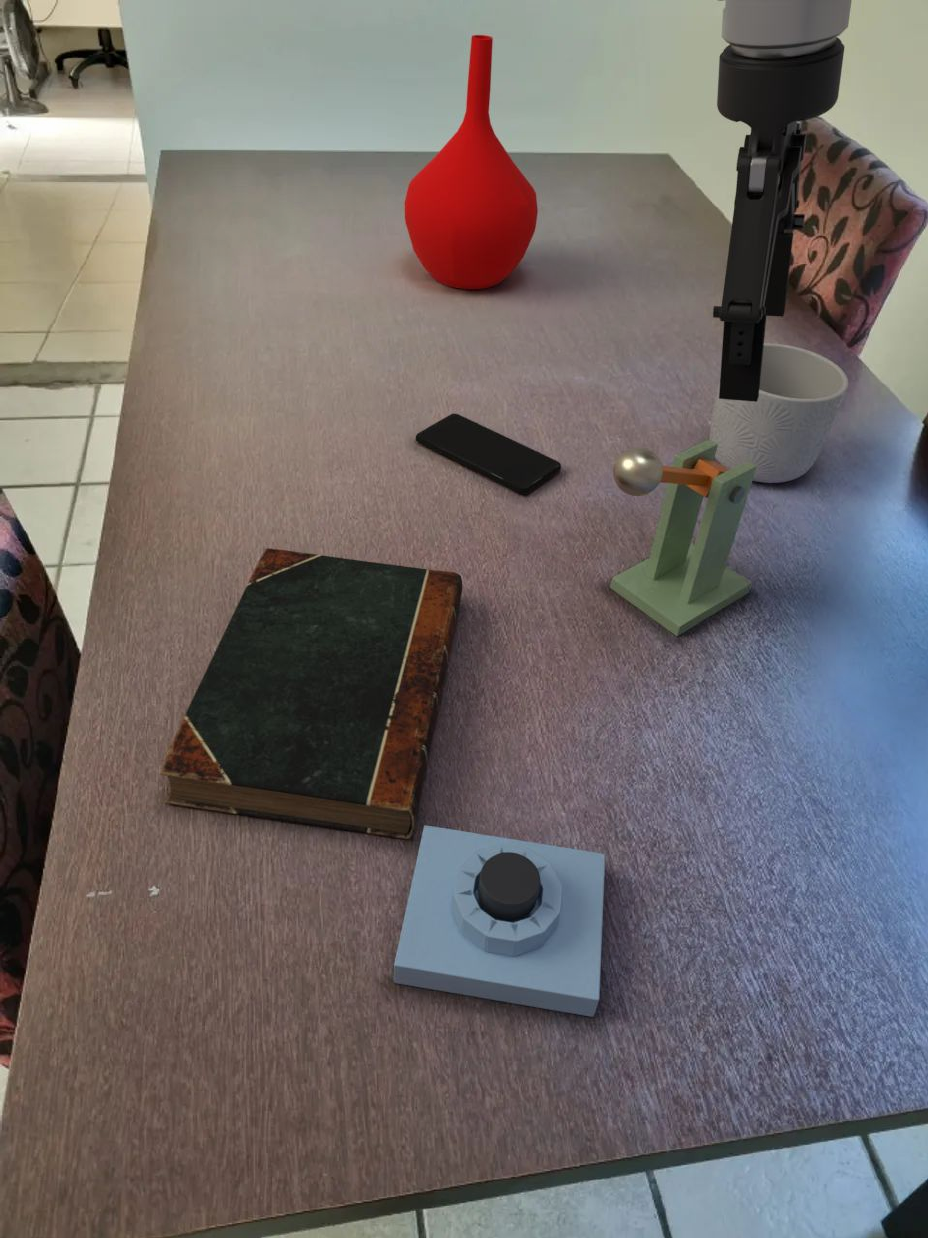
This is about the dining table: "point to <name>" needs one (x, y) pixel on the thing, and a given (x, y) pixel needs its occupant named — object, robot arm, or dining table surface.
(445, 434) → the smartphone
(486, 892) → the button
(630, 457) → the switch lever
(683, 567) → the switch bracket
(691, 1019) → the dining table surface
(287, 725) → the book
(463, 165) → the vase
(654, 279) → the dining table surface
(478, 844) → the button housing
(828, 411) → the planter
